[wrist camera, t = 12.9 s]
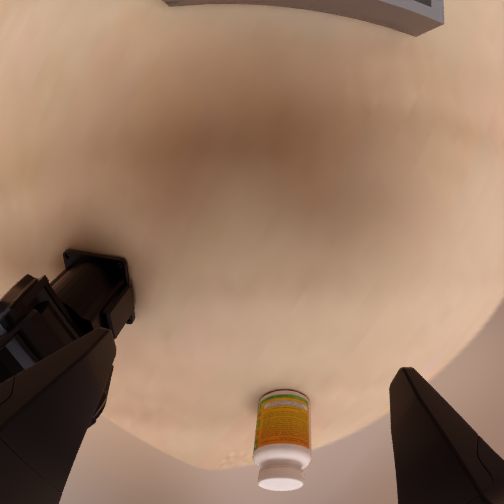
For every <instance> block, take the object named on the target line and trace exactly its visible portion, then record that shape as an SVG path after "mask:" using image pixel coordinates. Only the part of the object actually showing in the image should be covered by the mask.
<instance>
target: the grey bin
mask: <svg viewBox="0 0 504 504" xmlns="http://www.w3.org/2000/svg"><path fill="white" fill-rule="evenodd" d="M162 1H164V2H165V3H166V4H167V5H169V6H181V5H195V4H259V5H273V6H284V7H293V8H301V9H308V10H315V11H321V12H326V13H332V14H337V15H342V16H347V17H351V18H355V19H360V20H364V21H367V22H371V23H375V24H379V25H382V26H385V27H389V28H392V29H395V30H398V31H401V32H404V33H407V34H410V35H413V36H419V35H421V34H423V33H425V32H427V31H429V30H432V29H434V28H436V27H438V26H441V25H443V24H444V4H443V0H162Z"/></svg>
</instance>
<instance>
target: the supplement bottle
mask: <svg viewBox="0 0 504 504" xmlns="http://www.w3.org/2000/svg"><path fill="white" fill-rule="evenodd" d="M310 460H311V413H310V402H309V400H308V399H307V398H306V397H305V396H304V395H302V394H300V393H298V392H294V391H288V390H282V391H275V392H271V393H269V394H267V395H265V396H264V397H262V398H261V400H260V402H259V406H258V415H257V425H256V434H255V443H254V451H253V461H254V463H255V464H256V465H257V466H258V467H259V468H261V469H260V471H259V477H258V485H259V486H260V487H262V488H265V489H268V490H275V491H287V490H294V489H298V488H300V487H302V486H303V484H304V473H303V470H302V469H303V468H304V467H306V466H307V465H308V464H309V462H310Z"/></svg>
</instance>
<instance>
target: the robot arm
mask: <svg viewBox="0 0 504 504" xmlns="http://www.w3.org/2000/svg"><path fill="white" fill-rule="evenodd" d="M68 255H69V256H68ZM63 258H64V263H65V267H66V269H65V270H64V271H63V272H62V273H61V274H60V275H58V276H57V277H56V278H55V279H54V280H53V281H52V282H51V283H50V284H49V280H48V279H47V277H46V275H44V276H42V277H41V278H39V279H38V278H36V277H35V278H34V277H32V276H30V275H29V274H27V275H26V276H24V277H23V278H22V279H21V280H20V281H19V282H17V283H16V284H15V285H14V286H13V287H12V288H11V289H10V290H9V291H8V292H7V293H6V294H5V295H4V296H3V297H2V298H1V299H0V504H59V501H60V498H61V496H62V492H63V489H64V487H65V484H66V481H67V478H68V476H69V473H70V471H71V468H72V465H73V462H74V460H75V458H76V455H77V453H78V450H79V448H80V445H81V443H82V440H83V438H84V435H85V433H86V431H87V429H88V428H89V427H90V426H92V425H93V424H94V423H95V422H96V419H97V418H98V417H99V416H100V414H101V413H102V411H103V409H104V407H105V404H106V400H107V395H108V390H109V385H110V381H111V376H112V372H113V367H114V366H113V365H112V364H113V361H114V358H115V355H116V345H115V342H114V339H116V338H117V336H118V334H119V333H120V331H121V330H122V328H123V327H124V325H125V323H126V324H132V323H133V321H134V320H135V317H134V303H133V296H132V289H131V285H130V284H129V277H128V269H127V263H126V261H125V260H124V259H123V258H118V257H112V256H106V255H100V254H94V253H88V252H82V251H76V250H70V249H67V250H66V251H65V252H64V253H63ZM119 263H120V264H121V265H122V266H120V265H119ZM389 394H390V415H391V434H392V442H393V451H394V459H395V469H396V480H397V493H398V504H504V460H503V459H502V458H501V457H500V456H499V455H498V454H497V453H495V451H493V449H492V448H491V447H490V446H489V445H488V444H487V443H486V442H485V441H484V440H483V439H482V438H481V437H480V436H478V434H477V433H476V432H475V431H474V430H473V429H472V428H471V426H470V425H468V423H467V422H466V421H465V420H464V419H463V418H462V417H461V416H460V415H459V414H458V413H457V412H456V411H455V410H454V409H453V408H452V407H451V406H450V405H449V404H448V403H447V402H446V400H445V399H444V398H443V397H441V396H440V394H439V393H438V392H437V391H436V390H435V389H434V388H433V387H432V386H431V385H430V384H429V383H428V382H427V381H426V380H425V379H424V378H423V377H422V376H421V375H420V374H419V373H418V372H417V371H416V370H415V369H414V368H412V367H402V368H400V369H399V370H398V372H397V374H396V376H395V377H394V379H393V381H392V382H391V384H390V388H389Z"/></svg>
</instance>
